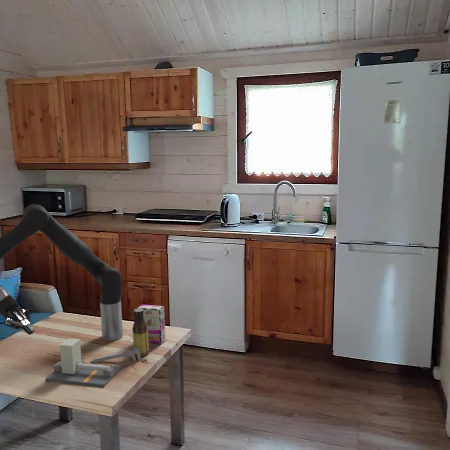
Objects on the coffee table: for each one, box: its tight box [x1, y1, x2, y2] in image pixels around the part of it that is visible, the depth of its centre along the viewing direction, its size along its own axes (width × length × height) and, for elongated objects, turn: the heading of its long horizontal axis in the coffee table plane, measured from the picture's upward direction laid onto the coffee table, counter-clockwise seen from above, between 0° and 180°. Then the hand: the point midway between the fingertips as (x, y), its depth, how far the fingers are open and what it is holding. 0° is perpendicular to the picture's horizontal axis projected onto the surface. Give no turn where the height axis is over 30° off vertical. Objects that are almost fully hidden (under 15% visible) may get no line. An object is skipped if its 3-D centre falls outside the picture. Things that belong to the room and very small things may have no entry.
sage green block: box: [59, 338, 83, 374], centre depth 173 cm, size 6×5×12 cm
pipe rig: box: [45, 361, 122, 388], centre depth 173 cm, size 14×24×4 cm, turn 78°
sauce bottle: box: [131, 307, 150, 357], centre depth 189 cm, size 7×6×20 cm
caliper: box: [89, 346, 141, 363], centre depth 184 cm, size 20×1×6 cm, turn 93°
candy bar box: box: [137, 304, 166, 345], centre depth 202 cm, size 11×5×16 cm, turn 74°
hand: (32, 332), depth 175 cm, fingers closed
